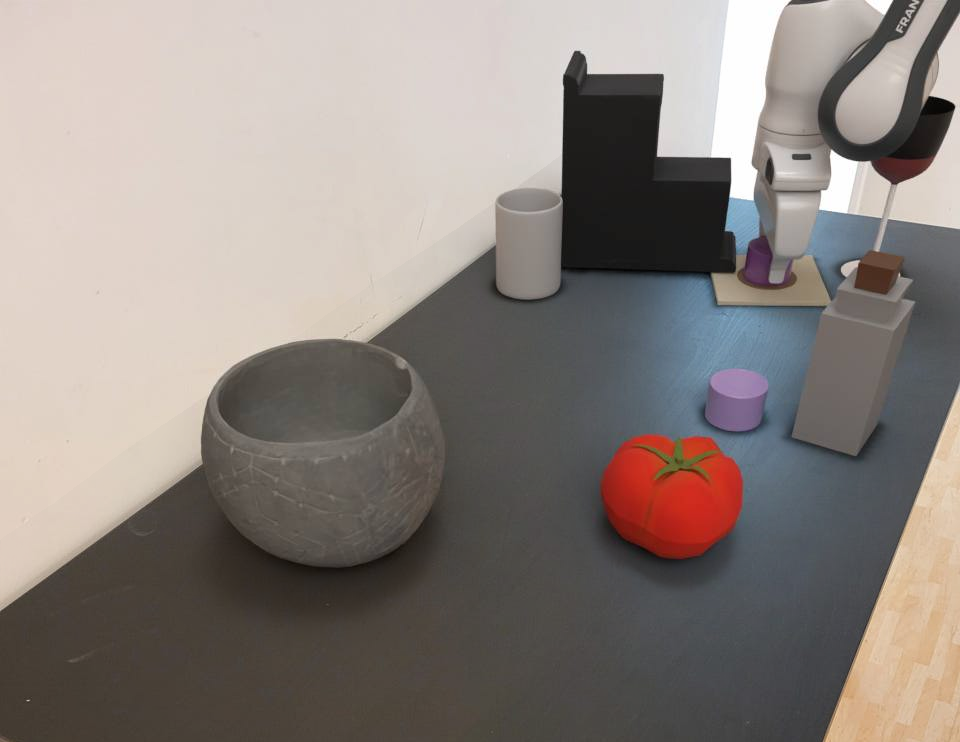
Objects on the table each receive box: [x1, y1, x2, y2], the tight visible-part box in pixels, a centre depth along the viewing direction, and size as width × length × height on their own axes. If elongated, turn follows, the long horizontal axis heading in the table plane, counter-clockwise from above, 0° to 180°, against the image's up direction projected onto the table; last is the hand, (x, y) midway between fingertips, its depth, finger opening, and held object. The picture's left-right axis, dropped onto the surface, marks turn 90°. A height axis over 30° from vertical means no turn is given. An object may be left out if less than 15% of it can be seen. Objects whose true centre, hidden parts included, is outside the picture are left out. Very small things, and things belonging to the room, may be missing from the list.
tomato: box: [599, 433, 744, 560], centre depth 84 cm, size 14×13×9 cm
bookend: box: [560, 50, 737, 273], centre depth 120 cm, size 23×11×24 cm, turn 79°
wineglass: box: [840, 95, 957, 278], centre depth 117 cm, size 8×9×20 cm
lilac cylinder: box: [704, 368, 770, 432], centre depth 99 cm, size 6×6×4 cm
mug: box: [494, 187, 563, 301], centre depth 121 cm, size 12×8×11 cm
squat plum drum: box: [743, 236, 794, 286], centre depth 121 cm, size 6×6×4 cm
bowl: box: [200, 338, 447, 569], centre depth 83 cm, size 21×21×15 cm
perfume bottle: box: [791, 249, 916, 457], centre depth 91 cm, size 7×7×18 cm
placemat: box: [709, 254, 832, 307], centre depth 122 cm, size 14×14×1 cm
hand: (769, 265), depth 121 cm, fingers open, 8 cm apart
